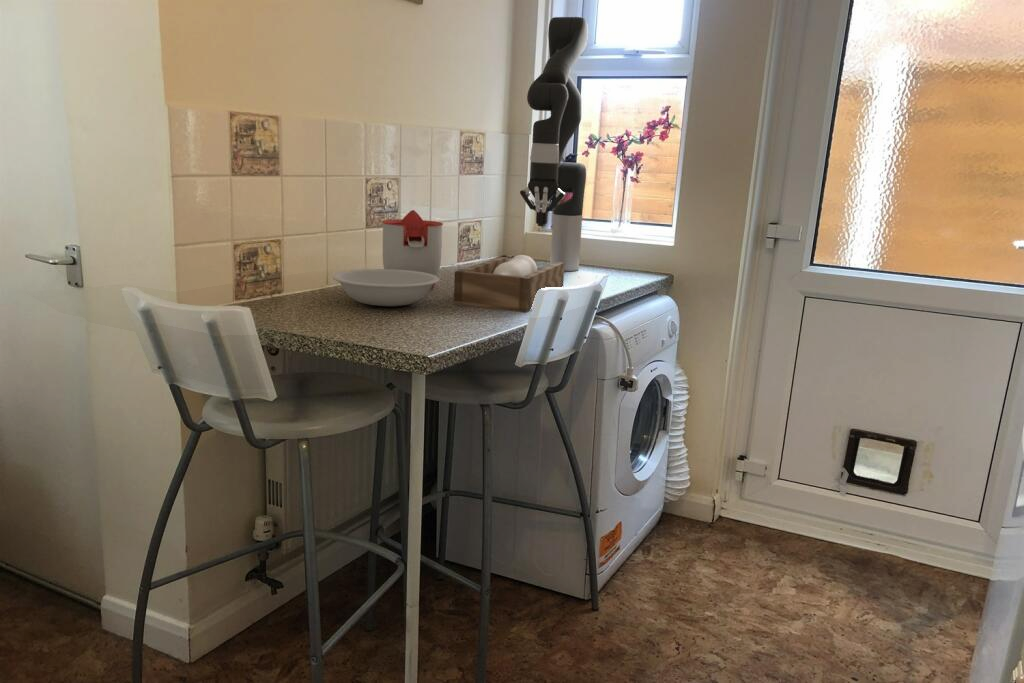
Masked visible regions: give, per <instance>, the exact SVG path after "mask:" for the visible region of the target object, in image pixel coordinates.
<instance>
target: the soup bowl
mask: <svg viewBox="0 0 1024 683" xmlns="http://www.w3.org/2000/svg"><path fill="white" fill-rule="evenodd" d="M332 278H333V280H335V281H337V282H339V284H340V285H341V288H342V289H343V290H344V292H345V293H346V294H347V295H348V296H349V297H350V298H352V299H353V300H355V301H356V302H359V303H361V304H365V305H369V306H378V307H399V306H407V305H411V304H414V303H417V302H418V301H420V300H422V298H424V297H425V296H426V295H427V294H428V293H429V291H431V289H432V288H431V287H432V285H433V284H435V285H436V284H437V283H439V282H440V277H439V276H438V277H437V276H435V275H432V274H428V273H424V272H417V271H408V270H395V269H384V268H368V269H367V268H366V269H350V270H345V271H340V272H336V273H334V274H333V275H332Z"/></svg>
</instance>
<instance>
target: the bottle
mask: <svg viewBox="0 0 1024 683" xmlns="http://www.w3.org/2000/svg"><path fill="white" fill-rule="evenodd" d="M537 270H538V267H537V264H536V261H535V260H534V259H533V258H531V257H530V256H529V255H525V254H519V255H516V256H514V257H512V258H511V259H510V260H509V261H507V262H505V263H502V264H500V265H499V266H497V267H496V269H495V270H494V272H493V274H501V275H512V276H522V277H523V276H525V275H528V274H530V273H532V272H535V271H537Z"/></svg>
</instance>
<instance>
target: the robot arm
mask: <svg viewBox="0 0 1024 683" xmlns="http://www.w3.org/2000/svg"><path fill="white" fill-rule="evenodd" d="M547 35H548V36H547V38H548V53H549V59H547V61H546V63H545V65H544V68H543V71H542V73H541V74H540V75H538V77H537V78H536V79H535V80H533V82H532V83H531V84H530V86H529V88H528V91H527V95H526V96H527V97H526V99H527V100H526V101H527V104H528V106H529V107H530V108H531V109H532V110H534V111H536V112H537V111H542V112H543V111H544V112H546V111H547V112H550V116H549V117H547V118H545V119H541V120H535V122H533V126H532V141H531V142H532V143H531V148H530V149H531V150H530V157H529V159H530V160H529V161H530V167H529V168H530V169H529V170H530V171H529V181H528V183H527V186H526V187H525V188H524V189H522V190H520V191H519V194H520V195H521V197H522V198H523V200H524V202H525V203H526V205H527V206H528V208H529V209H530V210H533V211H535V213H536V214H535V224H536V225H537V226H538V227H545V226H546V225H547V224H548V219H549V218H548V217H549V215H548V214H549V213H550V212H551V211H552V223H551V224H552V228H551V242H550V244H551V245H550V256H549V257H550V258H549V265H552V264H554V263H556V262H561V263H565V264H564V272H567V271H568V272H570V271H571V272H573V271H579V270H580V269H579V268H580V267H579V266H580V257H581V256H580V255H581V241H582V240H581V238H582V223H583V213H584V212H583V210H584V200H585V189H586V182H587V169H586V168H587V167H586V166H585V164H584V163H581V162H568V161H567V162H564V161H563V159H564V158H563V156H564V152H565V149H566V147H567V145H568V143H569V141H570V139H571V138H572V137H573V135H574V134H575V132H576V130H577V129H578V127H579V126H580V124H581V121H582V96H581V93H580V91H579V89H578V88H577V85H576V84H575V82H574V81H573V79H572V77H571V76H570V73H571V71H572V69H573V67H574V66H575V64H576V63H577V62H578V60H579V58H580V56H581V55H582V53H583V52H584V51H585V49H586V46H587V44H588V39H589V26H588V22H587V20H586V19H585V18H584V17H580V16H554V17H551V19H550V21H549V24H548V29H547ZM567 193H569V194H571V193H572V196H571V197H570V198H569V199H568V200H566V201H564V202H562V201H563V200H564V199H565V197H566V196H567ZM531 195H532V196H533V197H534V200H533V199H532V197H531ZM554 196H555V197H556V198H555V199H554V200H553V202H551V199H552V198H553V197H554Z"/></svg>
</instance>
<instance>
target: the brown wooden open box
mask: <svg viewBox="0 0 1024 683" xmlns="http://www.w3.org/2000/svg"><path fill="white" fill-rule="evenodd" d="M505 262H508V257H503V256H500V257H496V258H492V259H490V260H486V261H483V262H481V263H476V264H474V265H471V266H467V267H464V268H461V269H458V270H455V271H454V282H453V284H454V285H453V289H454V290H453V305H457V306H458V305H459V306H466V307H475V308H485V309H493V310H501V311H502V310H503V311H511V312H512V311H513V312H522V313H528V312H530V311H531V310H530V309H531V307H532V304H533V301H534V298H535V295H536V293H537V291H538V290H539V289H541V288H545V287H562V286H563V287H564V278H565V276H564V275H565V271H564V264H565V263H561V262H556V263H554V264H552V265H550V264H549V265H548V266H547V265H546V266H545V267H543V268H540V269H537V271H535V272H532V273H530V274H528V275H525V276H523V277H522V276H512V275H501V274H493V272H494V270H495V269H496V267H497V266H499V265H500V264H502V263H505Z"/></svg>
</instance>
